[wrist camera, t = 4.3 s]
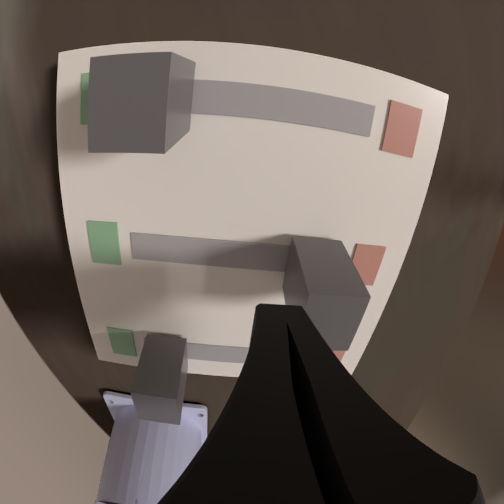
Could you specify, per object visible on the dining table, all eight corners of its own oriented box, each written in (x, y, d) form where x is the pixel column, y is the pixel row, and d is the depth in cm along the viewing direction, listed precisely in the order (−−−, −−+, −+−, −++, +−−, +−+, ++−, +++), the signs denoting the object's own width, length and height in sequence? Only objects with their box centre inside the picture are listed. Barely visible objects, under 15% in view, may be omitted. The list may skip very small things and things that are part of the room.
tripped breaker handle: (327, 289, 13) (347, 350, 10) (282, 286, 13) (292, 350, 10) (341, 240, 12) (370, 297, 9) (292, 235, 12) (309, 294, 9)
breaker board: (344, 359, 19) (364, 431, 14) (105, 341, 17) (79, 412, 13) (429, 92, 11) (515, 110, 6) (76, 53, 9) (-8, 52, 5)
